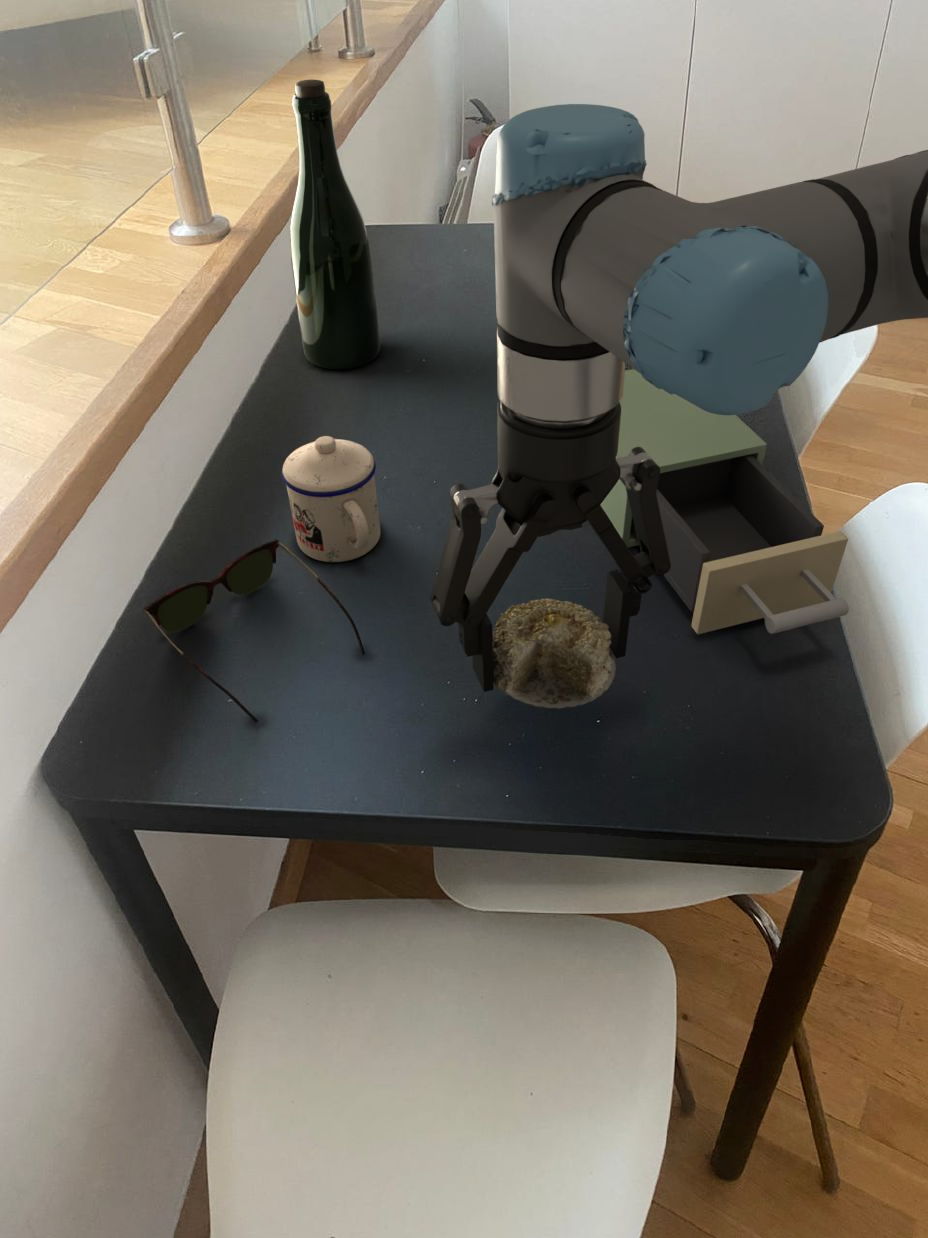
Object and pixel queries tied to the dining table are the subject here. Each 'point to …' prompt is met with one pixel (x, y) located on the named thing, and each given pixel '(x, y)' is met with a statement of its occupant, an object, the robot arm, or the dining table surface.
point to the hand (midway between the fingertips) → (549, 662)
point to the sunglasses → (238, 578)
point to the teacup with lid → (333, 499)
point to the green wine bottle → (329, 245)
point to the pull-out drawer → (746, 548)
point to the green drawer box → (672, 439)
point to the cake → (552, 654)
